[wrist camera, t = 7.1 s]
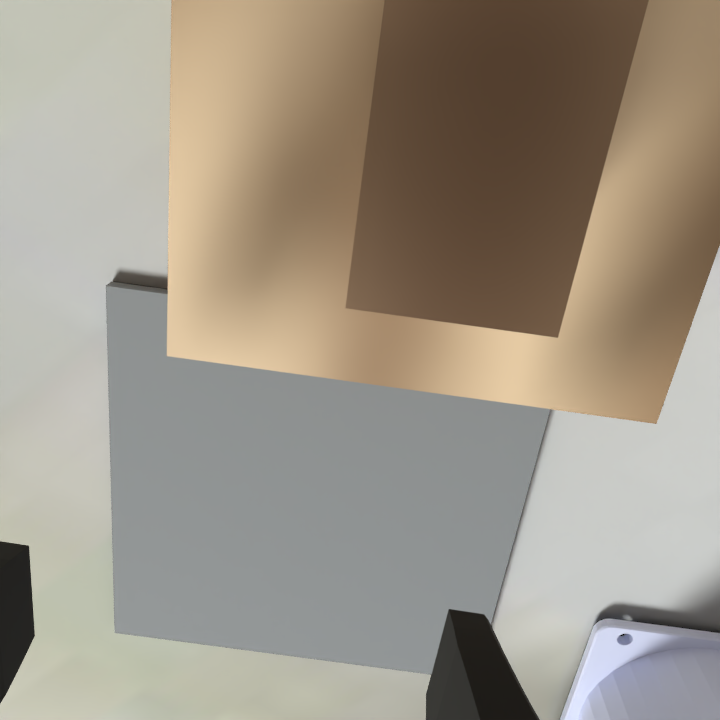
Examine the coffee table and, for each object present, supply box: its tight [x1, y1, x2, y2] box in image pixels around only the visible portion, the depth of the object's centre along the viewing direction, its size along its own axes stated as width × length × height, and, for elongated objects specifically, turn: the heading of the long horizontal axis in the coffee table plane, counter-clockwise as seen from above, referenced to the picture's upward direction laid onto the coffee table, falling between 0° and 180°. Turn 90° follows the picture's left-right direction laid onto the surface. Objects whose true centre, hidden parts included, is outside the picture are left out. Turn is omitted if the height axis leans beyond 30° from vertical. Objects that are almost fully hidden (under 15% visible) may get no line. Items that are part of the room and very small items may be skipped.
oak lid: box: [167, 0, 720, 424], centre depth 11 cm, size 11×11×5 cm
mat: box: [106, 282, 550, 675], centre depth 21 cm, size 13×13×1 cm
